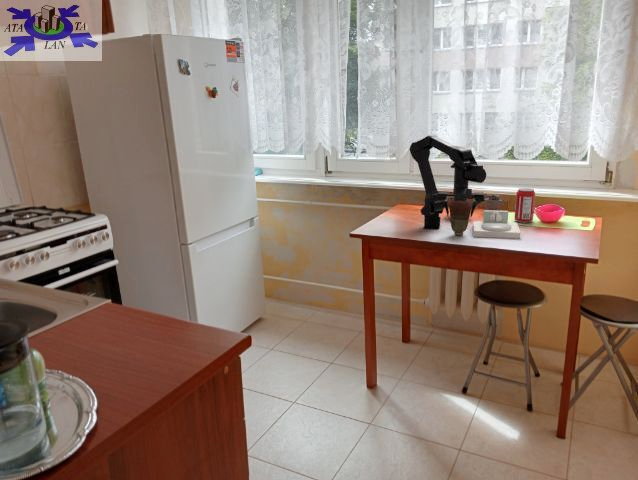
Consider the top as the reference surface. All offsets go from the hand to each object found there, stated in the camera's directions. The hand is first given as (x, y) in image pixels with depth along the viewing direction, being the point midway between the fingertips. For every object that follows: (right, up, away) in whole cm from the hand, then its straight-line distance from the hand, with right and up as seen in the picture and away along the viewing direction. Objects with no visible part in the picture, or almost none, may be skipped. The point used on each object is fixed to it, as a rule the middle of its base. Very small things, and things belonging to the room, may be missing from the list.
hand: (459, 216), depth 203 cm
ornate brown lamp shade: (0, -8, +2) cm, 8 cm away
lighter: (+25, +2, +33) cm, 42 cm away
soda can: (+35, -1, +19) cm, 40 cm away
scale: (+17, -6, +4) cm, 18 cm away
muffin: (+9, +1, +30) cm, 31 cm away
